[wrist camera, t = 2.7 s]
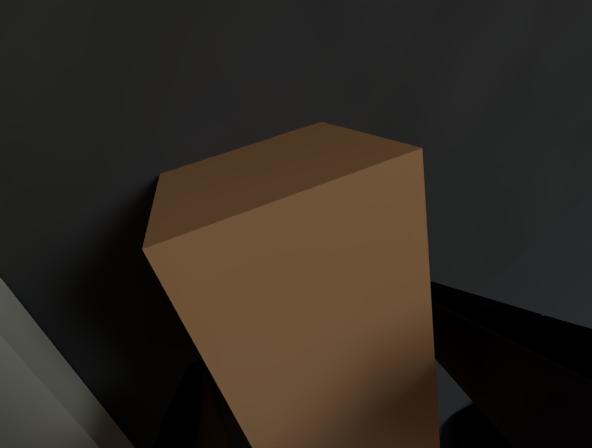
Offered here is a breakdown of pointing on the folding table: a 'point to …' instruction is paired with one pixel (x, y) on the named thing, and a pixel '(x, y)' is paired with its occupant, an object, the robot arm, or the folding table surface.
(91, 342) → the folding table surface
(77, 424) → the deck plate
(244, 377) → the chute block
